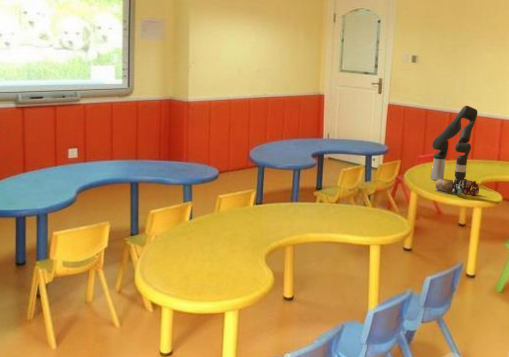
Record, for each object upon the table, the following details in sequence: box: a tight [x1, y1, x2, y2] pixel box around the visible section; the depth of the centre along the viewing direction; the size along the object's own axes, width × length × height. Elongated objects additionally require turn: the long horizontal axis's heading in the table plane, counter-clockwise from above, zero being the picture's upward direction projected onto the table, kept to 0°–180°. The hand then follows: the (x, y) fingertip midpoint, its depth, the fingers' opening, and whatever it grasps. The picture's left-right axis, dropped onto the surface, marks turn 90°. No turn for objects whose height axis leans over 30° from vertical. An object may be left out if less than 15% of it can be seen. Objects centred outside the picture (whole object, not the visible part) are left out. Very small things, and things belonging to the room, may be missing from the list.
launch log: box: [435, 179, 453, 194], centre depth 478 cm, size 10×8×8 cm
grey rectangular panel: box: [435, 188, 454, 195], centre depth 483 cm, size 10×21×1 cm, turn 125°
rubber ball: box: [456, 188, 463, 195], centre depth 468 cm, size 5×5×5 cm
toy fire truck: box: [461, 179, 480, 197], centre depth 473 cm, size 7×12×10 cm, turn 60°
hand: (458, 193), depth 469 cm, fingers closed on rubber ball, 5 cm apart
